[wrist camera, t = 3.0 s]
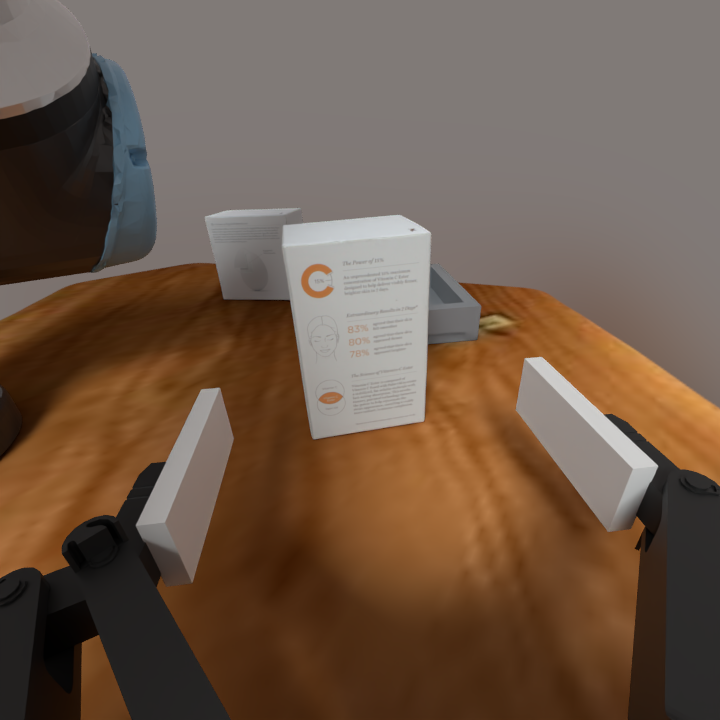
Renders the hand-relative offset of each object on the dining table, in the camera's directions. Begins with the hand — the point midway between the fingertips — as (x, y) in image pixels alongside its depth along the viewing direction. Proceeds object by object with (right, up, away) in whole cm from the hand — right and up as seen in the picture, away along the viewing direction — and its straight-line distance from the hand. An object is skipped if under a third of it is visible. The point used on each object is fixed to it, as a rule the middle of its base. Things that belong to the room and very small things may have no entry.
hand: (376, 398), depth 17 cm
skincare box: (-13, +11, +36) cm, 40 cm away
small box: (-1, -2, +12) cm, 13 cm away
